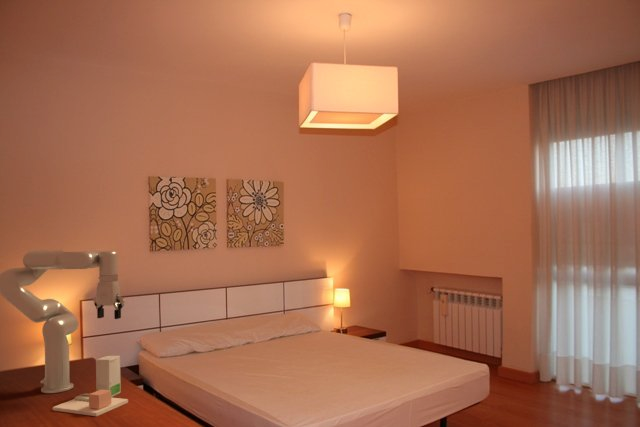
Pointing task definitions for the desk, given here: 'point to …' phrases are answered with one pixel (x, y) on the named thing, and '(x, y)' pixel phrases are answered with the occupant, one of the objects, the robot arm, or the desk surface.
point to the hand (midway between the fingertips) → (109, 318)
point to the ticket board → (87, 406)
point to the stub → (99, 399)
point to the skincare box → (108, 374)
